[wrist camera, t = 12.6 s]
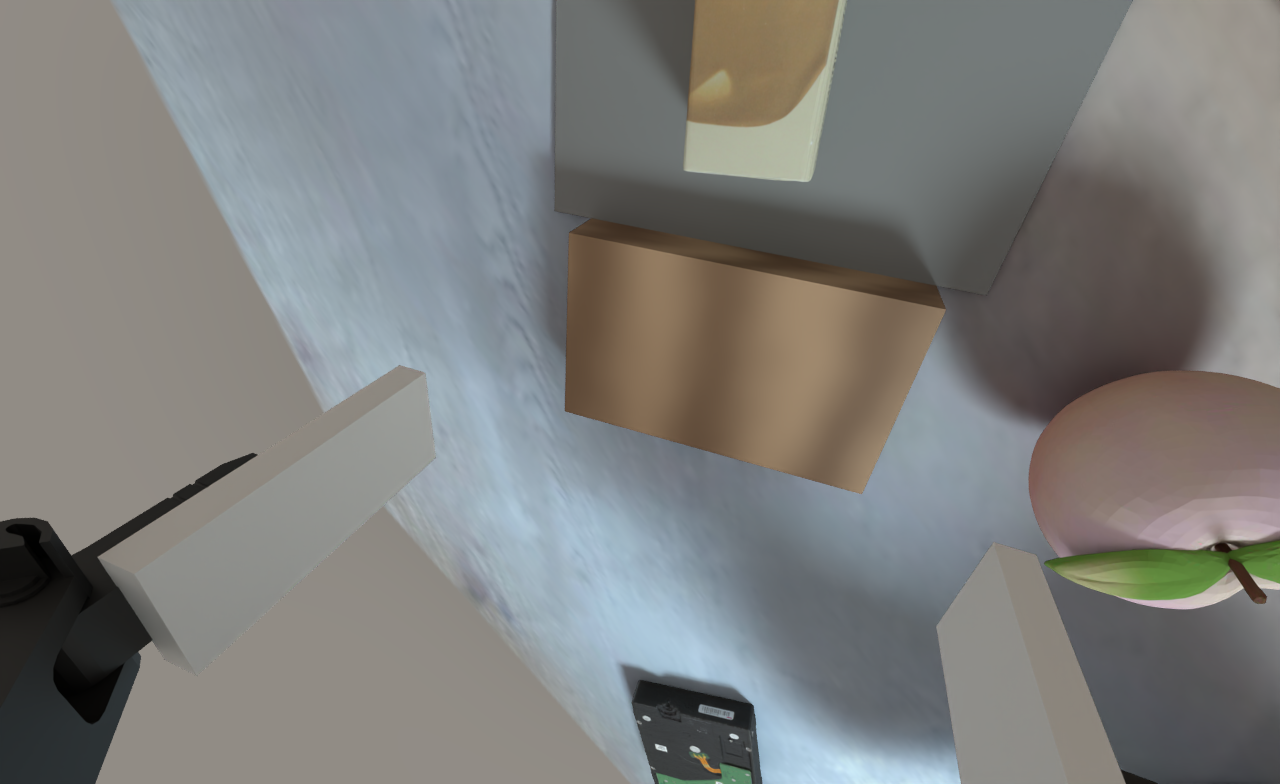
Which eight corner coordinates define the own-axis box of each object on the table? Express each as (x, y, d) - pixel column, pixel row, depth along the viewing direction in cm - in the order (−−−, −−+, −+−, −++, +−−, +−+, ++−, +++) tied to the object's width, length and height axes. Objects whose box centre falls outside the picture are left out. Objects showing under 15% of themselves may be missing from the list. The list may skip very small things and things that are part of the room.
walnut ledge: (935, 283, 23) (946, 309, 21) (860, 457, 29) (861, 494, 26) (593, 216, 26) (568, 232, 24) (585, 384, 32) (564, 411, 30)
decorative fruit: (1213, 277, 20) (1463, 424, 12) (1295, 433, 22) (1562, 653, 14) (957, 390, 25) (1011, 546, 17) (1040, 509, 27) (1125, 701, 19)
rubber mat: (1212, -170, 15) (1218, -174, 15) (984, 293, 23) (986, 295, 22) (561, -188, 19) (557, -191, 19) (557, 209, 27) (554, 210, 27)
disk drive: (638, 671, 48) (663, 762, 55) (627, 701, 45) (655, 792, 52) (755, 696, 44) (766, 790, 51) (749, 730, 42) (762, 823, 49)
